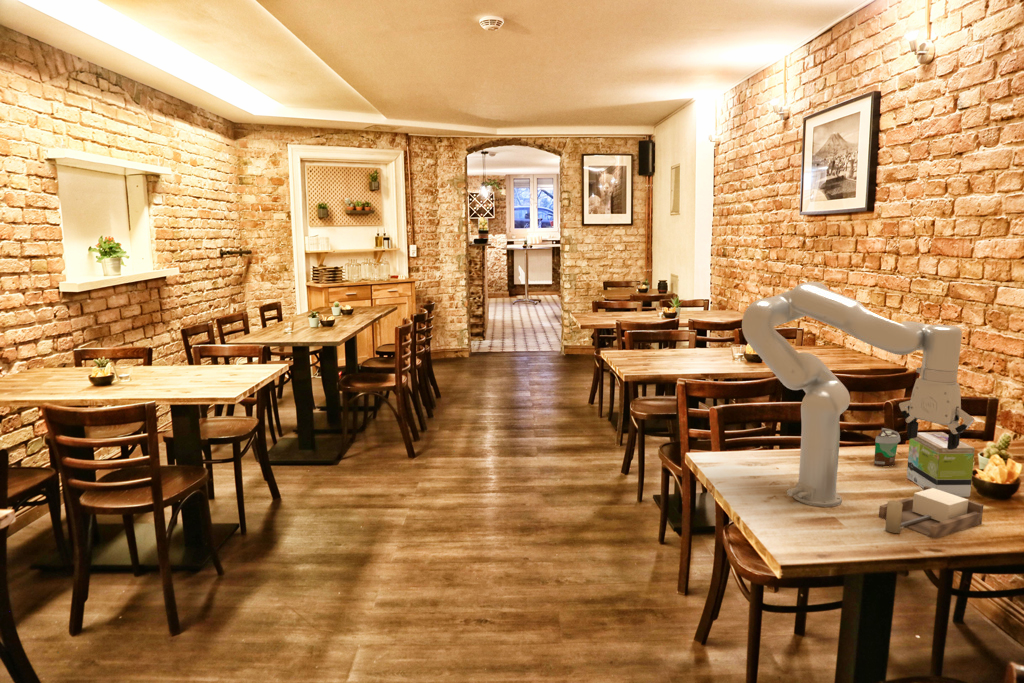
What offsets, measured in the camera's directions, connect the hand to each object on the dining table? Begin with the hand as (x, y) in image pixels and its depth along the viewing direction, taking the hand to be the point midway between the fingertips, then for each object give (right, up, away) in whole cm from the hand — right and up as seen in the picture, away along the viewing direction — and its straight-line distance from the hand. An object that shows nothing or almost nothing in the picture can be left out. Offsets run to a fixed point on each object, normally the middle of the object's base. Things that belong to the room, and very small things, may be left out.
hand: (931, 443), depth 165 cm
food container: (+16, -14, +48) cm, 53 cm away
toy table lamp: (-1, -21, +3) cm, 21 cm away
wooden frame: (+2, -21, +5) cm, 21 cm away
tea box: (+19, -17, +27) cm, 37 cm away
